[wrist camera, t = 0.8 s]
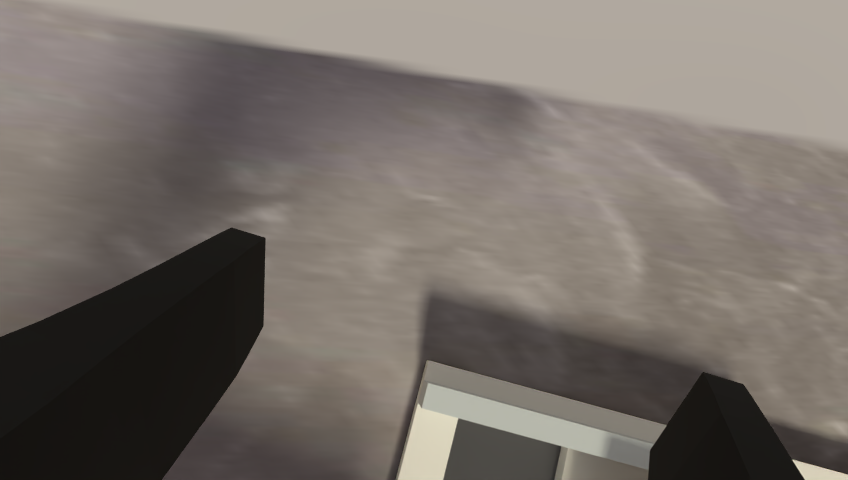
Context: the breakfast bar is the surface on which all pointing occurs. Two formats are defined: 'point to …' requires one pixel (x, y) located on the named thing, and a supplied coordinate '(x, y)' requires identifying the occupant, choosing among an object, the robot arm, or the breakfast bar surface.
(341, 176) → the breakfast bar surface
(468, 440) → the trap channel
